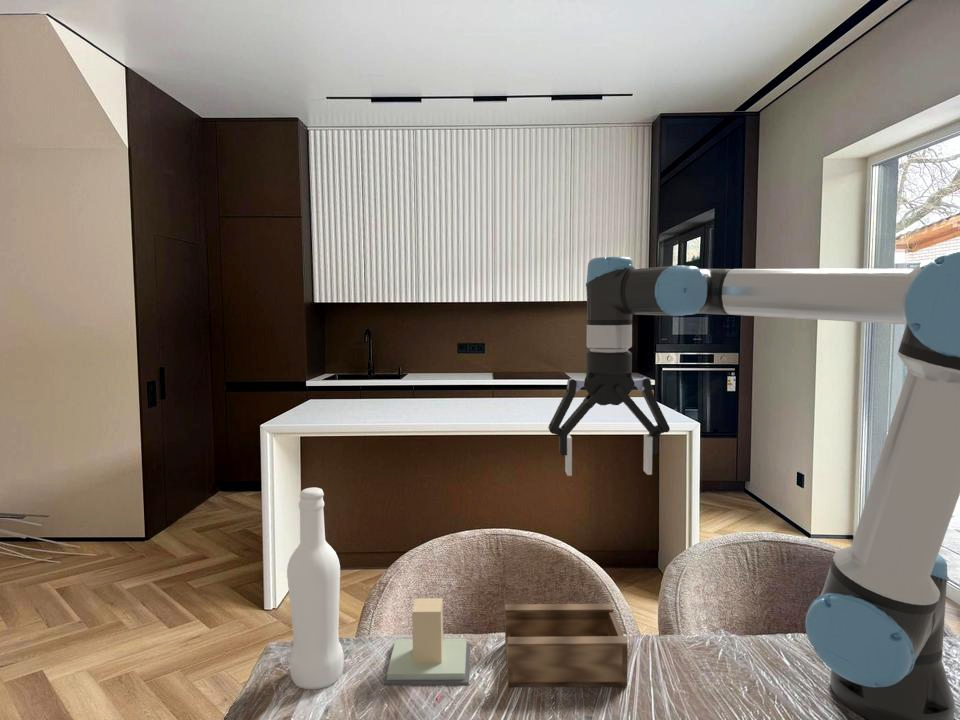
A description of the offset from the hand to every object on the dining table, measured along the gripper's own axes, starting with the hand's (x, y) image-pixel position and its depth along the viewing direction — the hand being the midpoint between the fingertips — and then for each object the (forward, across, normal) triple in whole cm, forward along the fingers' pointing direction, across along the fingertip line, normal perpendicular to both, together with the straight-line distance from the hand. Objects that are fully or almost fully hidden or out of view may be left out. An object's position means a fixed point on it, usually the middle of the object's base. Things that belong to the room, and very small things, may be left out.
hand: (608, 473), depth 109 cm
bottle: (+29, +48, +12) cm, 57 cm away
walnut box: (+29, +9, +10) cm, 31 cm away
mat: (+28, +30, +9) cm, 43 cm away
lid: (+28, +31, +9) cm, 43 cm away
